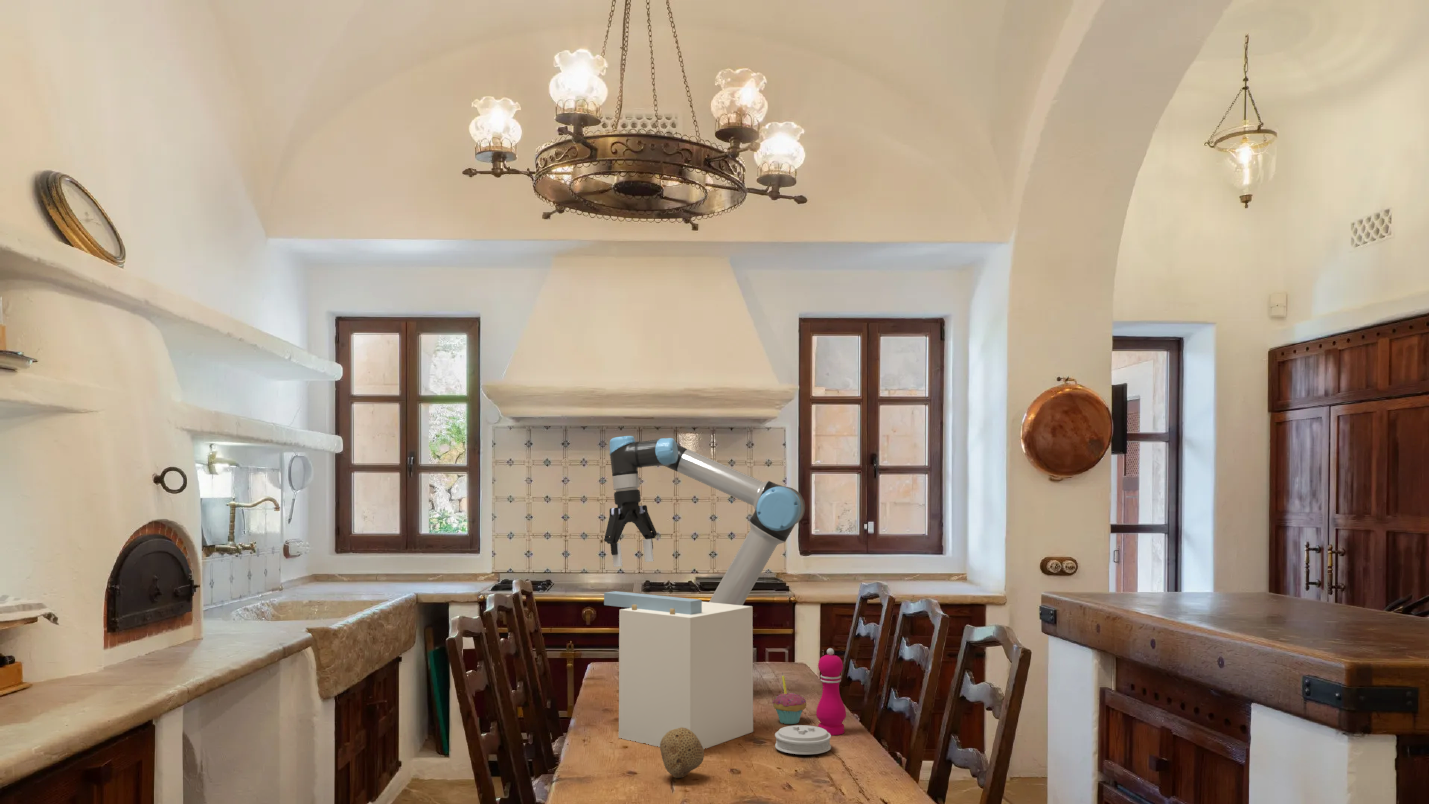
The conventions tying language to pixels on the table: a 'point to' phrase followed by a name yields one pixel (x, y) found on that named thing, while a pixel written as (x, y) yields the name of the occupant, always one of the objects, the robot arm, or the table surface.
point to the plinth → (686, 673)
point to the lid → (802, 739)
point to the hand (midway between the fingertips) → (634, 564)
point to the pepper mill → (831, 695)
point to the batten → (653, 602)
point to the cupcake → (789, 706)
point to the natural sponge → (681, 752)
